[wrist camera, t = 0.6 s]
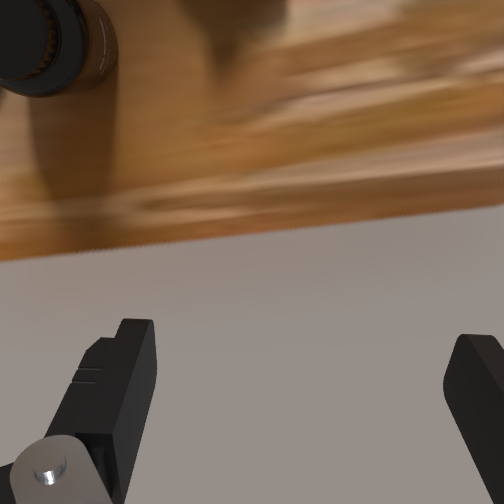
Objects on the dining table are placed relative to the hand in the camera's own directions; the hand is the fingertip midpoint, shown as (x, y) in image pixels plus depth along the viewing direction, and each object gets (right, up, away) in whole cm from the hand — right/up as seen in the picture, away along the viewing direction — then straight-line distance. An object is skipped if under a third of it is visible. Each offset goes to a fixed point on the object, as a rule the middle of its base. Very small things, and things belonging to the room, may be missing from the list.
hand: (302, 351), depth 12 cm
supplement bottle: (-14, +18, +21) cm, 31 cm away
